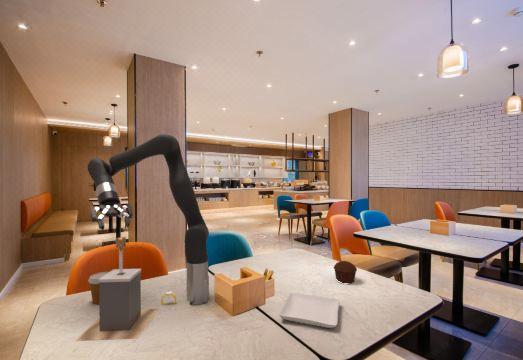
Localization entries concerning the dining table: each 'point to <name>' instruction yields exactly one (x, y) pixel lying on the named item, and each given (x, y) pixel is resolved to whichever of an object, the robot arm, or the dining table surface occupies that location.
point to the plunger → (121, 252)
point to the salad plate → (311, 310)
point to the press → (119, 299)
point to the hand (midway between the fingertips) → (115, 227)
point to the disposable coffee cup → (95, 286)
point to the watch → (168, 295)
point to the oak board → (133, 333)
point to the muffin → (345, 272)
